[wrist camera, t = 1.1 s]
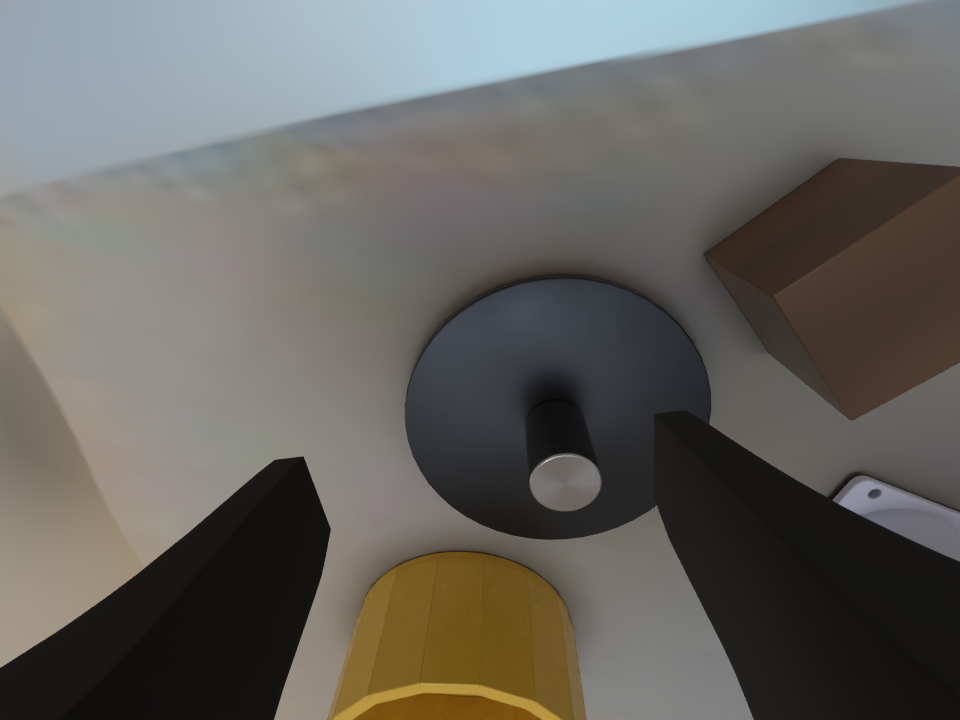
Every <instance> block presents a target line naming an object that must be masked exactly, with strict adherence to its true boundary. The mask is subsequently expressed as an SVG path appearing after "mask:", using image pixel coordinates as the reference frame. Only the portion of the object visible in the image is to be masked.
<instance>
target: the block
mask: <svg viewBox="0 0 960 720" xmlns="http://www.w3.org/2000/svg"><path fill="white" fill-rule="evenodd" d="M704 256H705V258H706V259H707V261H708V262H709V264H710V265H711V267H712V269H713V270H714V272H715V273H716V275H717V276H718V278H719V279H720V281H721V282H722V284H723V285H724V287H725V288H726V290H727V291H728V293H729V294H730V296H731V297H732V299H733V300H734V302H735V303H736V305H737V306H738V308H739V309H740V311H741V312H742V314H743V315H744V317H745V318H746V320H747V321H748V323H749V324H750V326H751V327H752V329H753V330H754V332H755V333H756V335H757V336H758V338H759V339H760V341H761V342H762V344H763V345H764V347H765V348H766V350H767V351H768V353H769V354H770V355H772V356H773V357H774V358H775V359H776V360H778V361H779V362H780V363H781V364H783V365H784V366H785V367H786V368H787V369H789V370H790V371H791V372H792V373H793V374H795V375H796V376H797V377H798V378H800V379H801V380H802V381H803V382H804V383H806V384H807V385H808V386H809V387H810V388H812V389H813V390H814V391H815V392H817V393H818V394H819V395H820V396H821V397H823V398H824V399H825V400H826V401H827V402H829V403H830V404H831V405H832V406H833V407H835V408H836V409H837V410H838V411H840V412H841V413H842V414H843V415H844V416H846V417H847V418H848V419H849V420H854V419H856V418H858V417H860V416H862V415H864V414H866V413H867V412H869V411H871V410H873V409H875V408H877V407H878V406H880V405H882V404H884V403H886V402H888V401H889V400H891V399H893V398H895V397H897V396H899V395H901V394H902V393H904V392H906V391H908V390H910V389H912V388H913V387H915V386H917V385H919V384H921V383H923V382H924V381H926V380H928V379H930V378H932V377H934V376H936V375H937V374H939V373H941V372H943V371H945V370H947V369H948V368H950V367H952V366H954V365H956V364H958V363H959V362H960V167H955V166H941V165H927V164H914V163H900V162H887V161H873V160H859V159H846V158H840V159H838V160H837V161H835V162H834V163H832V164H831V165H829V166H828V167H827V168H825V169H824V170H822V171H821V172H820V173H818V174H817V175H815V176H814V177H813V178H811V179H810V180H808V181H807V182H805V183H804V184H803V185H801V186H800V187H798V188H797V189H796V190H794V191H793V192H791V193H790V194H789V195H787V196H786V197H784V198H783V199H781V200H780V201H779V202H777V203H776V204H774V205H773V206H772V207H770V208H769V209H767V210H766V211H764V212H763V213H762V214H760V215H759V216H757V217H756V218H755V219H753V220H752V221H750V222H749V223H748V224H746V225H745V226H743V227H742V228H740V229H739V230H738V231H736V232H735V233H733V234H732V235H731V236H729V237H728V238H726V239H725V240H724V241H722V242H721V243H719V244H718V245H716V246H715V247H714V248H712V249H711V250H709V251H708V252H707V253H705V254H704Z"/></svg>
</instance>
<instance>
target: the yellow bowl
mask: <svg viewBox="0 0 960 720" xmlns="http://www.w3.org/2000/svg"><path fill="white" fill-rule="evenodd" d="M327 720H586V713H585V706H584V699H583V692H582V685H581V678H580V671H579V664H578V657H577V650H576V643H575V636H574V629H573V625H572V623H571V621H570V618H569V613H568V611H567V608H566V606H565V604H564V602H563V601H562V599H561V597H560V596H559V594H558V593H557V592H556V591H555V590H554V588H553V587H552V586H551V585H550V584H549V583H547V582H546V581H545V580H544V579H543V578H542V577H540V576H539V575H537V574H536V573H534V572H533V571H531V570H529V569H527V568H526V567H524V566H522V565H520V564H517V563H515V562H512V561H510V560H507V559H504V558H500V557H496V556H493V555H487V554H482V553H474V552H444V553H436V554H430V555H426V556H422V557H418V558H415V559H413V560H410V561H407V562H405V563H403V564H401V565H399V566H397V567H395V568H393V569H392V570H390V571H389V572H387V573H386V574H385V575H383V576H382V577H381V578H380V579H379V580H378V581H377V582H376V583H375V584H374V586H373V587H372V588H371V589H370V591H369V592H368V594H367V596H366V598H365V600H364V603H363V606H362V609H361V611H360V613H359V616H358V618H357V621H356V624H355V628H354V631H353V634H352V638H351V641H350V644H349V648H348V651H347V654H346V658H345V661H344V664H343V668H342V671H341V674H340V678H339V681H338V685H337V688H336V691H335V695H334V698H333V701H332V705H331V708H330V711H329V715H328V718H327Z"/></svg>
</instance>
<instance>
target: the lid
mask: <svg viewBox="0 0 960 720" xmlns="http://www.w3.org/2000/svg"><path fill="white" fill-rule="evenodd" d="M681 410H687V411H688V412H690V413H692V414H693V415H695V416H696V417H698V418H700V419H701V420H703V421H704V422H706V423H707V424H709V421H710V413H711V391H710V386H709V380H708V375H707V372H706V369H705V366H704V363H703V360H702V358H701V356H700V354H699V352H698V350H697V348H696V346H695V345H694V343H693V341H692V340H691V338H690V337H689V336H688V334H687V333H686V332H685V331H684V329H683V328H682V327H681V325H680V324H679V323H678V322H677V321H676V320H675V319H674V318H673V317H672V316H671V315H669V314H668V313H667V312H666V311H665V310H664V309H663V308H662V307H660V306H659V305H658V304H656V303H655V302H653V301H652V300H650V299H649V298H648V297H646V296H644V295H642V294H640V293H638V292H636V291H634V290H632V289H630V288H628V287H626V286H623V285H620V284H617V283H614V282H611V281H608V280H604V279H599V278H594V277H589V276H582V275H566V274H559V275H544V276H536V277H531V278H526V279H521V280H517V281H514V282H511V283H508V284H505V285H502V286H499V287H496V288H494V289H492V290H490V291H488V292H486V293H484V294H482V295H480V296H478V297H476V298H475V299H473V300H471V301H470V302H468V303H467V304H465V305H464V306H462V307H461V308H460V309H458V310H457V311H456V312H455V313H454V314H453V315H451V316H450V317H449V318H448V319H447V320H446V321H445V322H444V323H443V324H442V325H441V326H440V327H439V328H438V329H437V331H436V332H435V333H434V334H433V335H432V337H431V338H430V340H429V341H428V343H427V344H426V346H425V347H424V349H423V350H422V352H421V354H420V356H419V358H418V360H417V363H416V365H415V367H414V369H413V372H412V375H411V379H410V382H409V385H408V389H407V395H406V402H405V425H406V431H407V438H408V442H409V445H410V448H411V451H412V454H413V457H414V459H415V461H416V463H417V465H418V467H419V469H420V471H421V472H422V474H423V475H424V477H425V478H426V480H427V481H428V483H429V484H430V485H431V486H432V488H433V489H434V490H435V491H436V492H437V493H438V494H439V495H440V496H441V497H442V498H443V499H444V500H445V501H446V502H447V503H448V504H450V505H451V506H452V507H453V508H455V509H456V510H457V511H459V512H460V513H462V514H463V515H465V516H466V517H468V518H470V519H472V520H474V521H476V522H477V523H479V524H481V525H484V526H486V527H489V528H491V529H494V530H496V531H500V532H503V533H507V534H510V535H514V536H520V537H526V538H533V539H547V540H552V539H571V538H578V537H585V536H589V535H594V534H598V533H602V532H605V531H608V530H611V529H614V528H617V527H619V526H621V525H624V524H626V523H628V522H630V521H632V520H634V519H636V518H638V517H639V516H641V515H643V514H645V513H646V512H648V511H649V510H651V509H652V508H653V507H655V506H656V505H657V503H656V500H655V497H654V494H653V466H654V414H656V413H664V412H672V411H681Z"/></svg>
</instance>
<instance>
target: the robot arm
mask: <svg viewBox="0 0 960 720" xmlns="http://www.w3.org/2000/svg"><path fill="white" fill-rule="evenodd" d="M871 490H873V491H871ZM870 491H871V492H870ZM653 494H654V497H655V500H656V503H657V506H658V509H659V512H660V515H661V518H662V520H663V523H664V526H665V529H666V531H667V534H668V537H669V539H670V541H671V543H672V546H673V548H674V550H675V552H676V554H677V556H678V558H679V560H680V562H681V564H682V566H683V568H684V570H685V572H686V574H687V576H688V578H689V580H690V582H691V584H692V586H693V588H694V590H695V592H696V594H697V596H698V598H699V600H700V602H701V604H702V606H703V608H704V610H705V612H706V614H707V616H708V618H709V620H710V621H711V623H712V625H713V627H714V629H715V631H716V633H717V635H718V637H719V639H720V641H721V643H722V645H723V647H724V649H725V652H726V654H727V656H728V658H729V660H730V663H731V665H732V667H733V669H734V671H735V673H736V676H737V678H738V681H739V683H740V686H741V688H742V691H743V693H744V696H745V698H746V701H747V703H748V706H749V708H750V711H751V713H752V716H753V719H754V720H960V512H958V511H955V510H953V509H950V508H947V507H945V506H942V505H940V504H937V503H935V502H932V501H930V500H927V499H924V498H922V497H919V496H917V495H914V494H912V493H909V492H907V491H904V490H901V489H899V488H896V487H894V486H891V485H889V484H886V483H884V482H881V481H878V480H876V479H873V478H871V477H868V476H864V475H862V476H857V477H854V478H853V479H851V480H850V481H849V482H848V483H847V484H846V486H845V487H844V488H843V489H842V490H841V491H840V492H839V493H838V494H837V495H836V497H835V498H834V499H833V500H831V499H829V498H827V497H825V496H823V495H822V494H820V493H818V492H816V491H815V490H813V489H811V488H809V487H807V486H806V485H804V484H802V483H800V482H799V481H797V480H795V479H794V478H792V477H790V476H788V475H787V474H785V473H783V472H782V471H780V470H778V469H777V468H775V467H774V466H772V465H770V464H769V463H767V462H766V461H764V460H762V459H761V458H759V457H758V456H756V455H754V454H753V453H751V452H750V451H748V450H747V449H745V448H744V447H742V446H740V445H739V444H737V443H736V442H734V441H733V440H731V439H730V438H728V437H727V436H725V435H724V434H722V433H721V432H719V431H718V430H716V429H715V428H713V427H712V426H710V425H709V424H707V423H706V422H704V421H703V420H701V419H700V418H698V417H696V416H695V415H693V414H692V413H690V412H688V411H687V410H681V411H672V412H664V413H656V414H654V466H653ZM330 530H331V529H330V526H329V523H328V521H327V518H326V515H325V513H324V510H323V507H322V505H321V502H320V499H319V497H318V494H317V491H316V489H315V486H314V483H313V481H312V478H311V475H310V473H309V470H308V467H307V465H306V462H305V459H304V457H295V458H286V459H278V460H274V461H273V462H272V463H270V464H269V465H268V466H266V467H265V468H264V469H262V470H261V471H260V472H259V473H258V474H256V475H255V476H254V477H253V478H252V479H250V480H249V481H248V482H247V483H246V484H245V485H243V486H242V487H241V488H240V489H239V490H238V491H236V492H235V493H234V494H233V495H232V496H231V497H230V498H228V499H227V500H226V501H225V502H224V503H223V504H221V505H220V506H219V507H218V508H217V509H216V510H215V511H213V512H212V513H211V514H210V515H209V516H208V517H206V518H205V519H204V520H203V521H202V522H201V523H199V524H198V525H197V526H196V527H195V528H194V529H192V530H191V531H190V532H189V533H188V534H186V535H185V536H184V537H183V538H181V539H180V540H179V541H178V542H177V543H175V544H174V545H173V546H172V547H170V548H169V549H168V550H167V551H165V552H164V553H163V554H162V555H160V556H159V557H158V558H157V559H155V560H154V561H153V562H152V563H150V564H149V565H148V566H147V567H146V568H144V569H143V570H142V571H141V572H139V573H138V574H137V575H136V576H134V577H133V578H132V579H130V580H129V581H128V582H126V583H125V584H124V585H122V586H121V587H120V588H118V589H117V590H116V591H114V592H113V593H112V594H110V595H109V596H107V597H106V598H105V599H103V600H102V601H100V602H99V603H98V604H96V605H95V606H94V607H92V608H91V609H89V610H88V611H87V612H85V613H84V614H82V615H81V616H79V617H78V618H76V619H75V620H74V621H72V622H71V623H69V624H68V625H66V626H65V627H64V628H62V629H60V630H59V631H57V632H56V633H55V634H53V635H51V636H50V637H48V638H47V639H45V640H43V641H42V642H40V643H39V644H37V645H36V646H34V647H32V648H31V649H29V650H28V651H26V652H25V653H23V654H22V655H20V656H18V657H17V658H15V659H14V660H12V661H11V662H9V663H7V664H6V665H4V666H3V667H1V668H0V720H274V718H275V714H276V711H277V708H278V704H279V701H280V698H281V694H282V691H283V688H284V685H285V682H286V679H287V676H288V673H289V671H290V668H291V665H292V662H293V659H294V656H295V653H296V650H297V647H298V644H299V641H300V639H301V636H302V633H303V630H304V627H305V624H306V621H307V618H308V615H309V612H310V609H311V606H312V603H313V600H314V597H315V594H316V591H317V588H318V585H319V582H320V579H321V576H322V571H323V566H324V562H325V557H326V552H327V547H328V541H329V536H330Z"/></svg>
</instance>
